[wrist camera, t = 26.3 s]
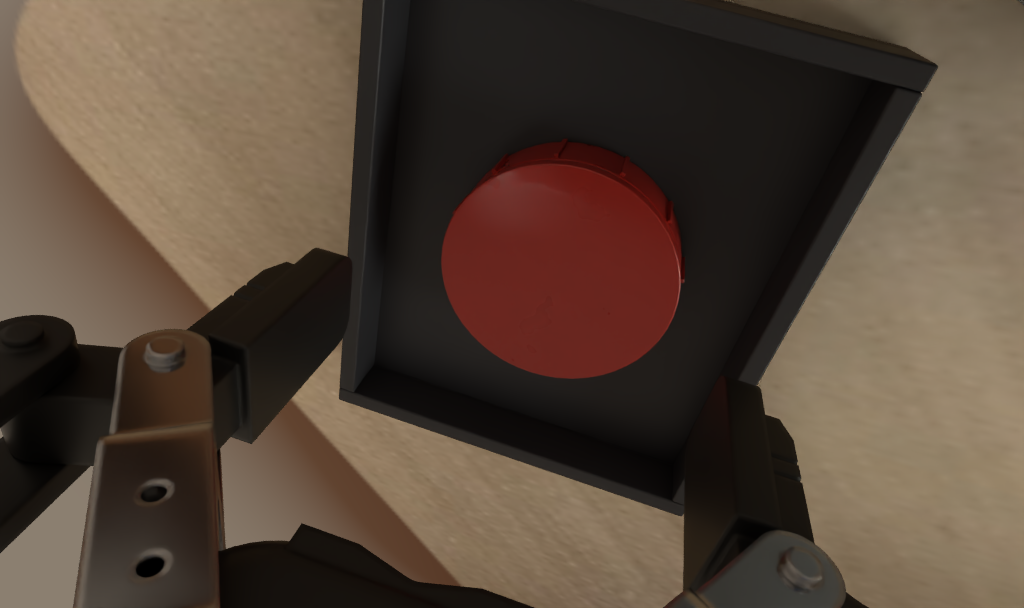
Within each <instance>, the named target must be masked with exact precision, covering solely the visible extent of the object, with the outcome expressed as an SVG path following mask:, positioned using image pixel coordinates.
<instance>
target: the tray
mask: <svg viewBox="0 0 1024 608" xmlns="http://www.w3.org/2000/svg"><path fill="white" fill-rule="evenodd" d="M937 68H938V65H936V64H935V63H933V62H931V61H930V60H928V59H926V58H924V57H922V56H920V55H919V54H917V53H915V52H913V51H911V50H910V49H908V48H906V47H902V46H898V45H894V44H891V43H887V42H883V41H879V40H875V39H871V38H867V37H863V36H859V35H855V34H852V33H848V32H844V31H840V30H836V29H832V28H828V27H824V26H820V25H816V24H812V23H809V22H805V21H801V20H797V19H793V18H789V17H785V16H781V15H777V14H773V13H770V12H766V11H762V10H758V9H754V8H750V7H746V6H742V5H738V4H734V3H731V2H727V1H723V0H363V8H362V25H361V41H360V58H359V75H358V91H357V108H356V125H355V141H354V158H353V174H352V191H351V208H350V224H349V241H348V257H349V258H350V259H351V260H352V265H353V271H352V286H351V301H350V316H349V322H348V326H347V329H346V331H345V334H344V336H343V341H342V358H341V374H340V391H339V399H340V400H343V401H346V402H348V403H351V404H354V405H357V406H360V407H363V408H366V409H369V410H372V411H375V412H378V413H381V414H383V415H386V416H389V417H392V418H395V419H398V420H401V421H404V422H407V423H410V424H413V425H416V426H418V427H421V428H424V429H427V430H430V431H433V432H436V433H439V434H442V435H445V436H448V437H451V438H453V439H456V440H459V441H462V442H465V443H468V444H471V445H474V446H477V447H480V448H483V449H486V450H488V451H491V452H494V453H497V454H500V455H503V456H506V457H509V458H512V459H515V460H518V461H521V462H524V463H526V464H529V465H532V466H535V467H538V468H541V469H544V470H547V471H550V472H553V473H556V474H559V475H561V476H564V477H567V478H570V479H573V480H576V481H579V482H582V483H585V484H588V485H591V486H594V487H596V488H599V489H602V490H605V491H608V492H611V493H614V494H617V495H620V496H623V497H626V498H629V499H631V500H634V501H637V502H640V503H643V504H646V505H649V506H652V507H655V508H658V509H661V510H664V511H667V512H669V513H672V514H675V515H678V516H683V514H684V484H685V452H686V447H687V443H688V439H689V436H690V433H691V431H692V429H693V427H694V425H695V423H696V421H697V419H698V417H699V415H700V413H701V411H702V409H703V407H704V405H705V403H706V401H707V399H708V397H709V395H710V393H711V391H712V389H713V387H714V385H715V383H716V381H717V380H718V379H719V377H721V376H722V375H723V376H726V377H730V378H733V379H736V380H739V381H742V382H746V383H749V384H752V385H755V386H757V384H758V382H759V381H760V379H761V377H762V375H763V374H764V372H765V370H766V368H767V367H768V365H769V363H770V361H771V360H772V358H773V356H774V354H775V353H776V351H777V349H778V347H779V346H780V344H781V342H782V340H783V339H784V337H785V335H786V333H787V332H788V330H789V328H790V326H791V325H792V323H793V321H794V319H795V318H796V316H797V314H798V312H799V311H800V309H801V307H802V305H803V304H804V302H805V300H806V298H807V297H808V295H809V293H810V291H811V289H812V288H813V286H814V284H815V282H816V281H817V279H818V277H819V275H820V274H821V272H822V270H823V268H824V267H825V265H826V263H827V261H828V260H829V258H830V256H831V254H832V253H833V251H834V249H835V247H836V246H837V244H838V242H839V240H840V239H841V237H842V235H843V233H844V232H845V230H846V228H847V226H848V225H849V223H850V221H851V219H852V218H853V216H854V214H855V212H856V211H857V209H858V207H859V205H860V204H861V202H862V200H863V198H864V197H865V195H866V193H867V191H868V190H869V188H870V186H871V184H872V182H873V181H874V179H875V177H876V175H877V174H878V172H879V170H880V168H881V167H882V165H883V163H884V161H885V160H886V158H887V156H888V154H889V153H890V151H891V149H892V147H893V146H894V144H895V142H896V140H897V139H898V137H899V135H900V133H901V132H902V130H903V128H904V126H905V125H906V123H907V121H908V119H909V118H910V116H911V114H912V112H913V111H914V109H915V107H916V105H917V104H918V102H919V100H920V98H921V97H922V93H921V92H924V91H925V89H926V88H927V86H928V84H929V82H930V81H931V79H932V77H933V75H934V74H935V72H936V70H937ZM563 139H568V142H575V143H584V144H589V145H593V146H598V147H600V148H603V149H606V150H609V151H612V152H614V153H616V154H618V155H620V156H622V157H624V158H625V157H626V156H628V157H630V160H629V161H630V162H632V163H633V164H635V165H636V166H638V167H639V168H641V169H642V170H643V171H644V172H645V173H646V174H647V175H648V176H649V177H651V178H652V179H653V181H654V182H655V183H656V184H657V185H658V187H659V188H660V189H661V190H662V192H663V193H664V195H665V196H666V198H667V199H668V201H672V202H673V203H674V207H673V211H674V213H675V216H676V219H677V222H678V225H679V229H680V235H681V242H682V257H685V278H684V283H681V288H680V295H679V301H678V305H677V308H676V311H675V314H674V317H673V319H672V321H671V323H670V325H669V327H668V329H667V330H666V332H665V333H664V334H663V336H662V337H661V339H660V340H659V341H658V342H657V343H656V344H655V345H654V346H653V347H652V348H651V349H650V350H649V351H648V352H647V353H646V354H644V355H643V356H642V357H640V358H639V359H638V360H636V361H634V362H633V363H631V364H629V365H627V366H626V367H623V368H621V369H619V370H616V371H614V372H611V373H607V374H604V375H600V376H594V377H588V378H575V379H569V378H555V377H549V376H543V375H539V374H536V373H532V372H529V371H526V370H524V369H521V368H518V367H516V366H514V365H512V364H510V363H508V362H506V361H504V360H502V359H501V358H499V357H498V356H496V355H495V354H493V353H492V352H490V351H489V350H488V349H486V348H485V347H484V346H483V345H481V344H480V343H479V342H478V341H477V340H476V339H475V338H474V337H473V336H472V335H471V334H470V332H469V331H468V330H467V329H466V327H465V326H464V325H463V324H462V322H461V321H460V319H459V318H458V316H457V314H456V313H455V311H454V309H453V307H452V305H451V303H450V301H449V298H448V295H447V292H446V289H445V286H444V281H443V276H442V265H441V256H442V245H443V241H444V237H445V233H446V230H447V228H448V225H449V222H450V220H451V218H452V217H453V215H454V214H452V213H453V211H454V210H455V209H456V207H457V206H458V205H459V204H460V203H461V202H462V200H463V199H464V198H465V197H466V196H467V195H468V194H469V193H470V192H471V191H472V190H473V189H474V187H475V186H476V185H477V184H478V183H479V182H480V180H481V179H482V178H483V177H484V176H485V175H486V174H487V173H488V172H489V171H490V170H491V169H492V168H493V167H494V166H495V165H496V164H497V163H498V162H499V161H500V160H501V158H502V157H503V156H504V155H505V154H507V153H508V155H509V156H510V155H512V154H514V153H516V152H518V151H520V150H523V149H526V148H529V147H532V146H535V145H540V144H545V143H551V142H562V140H563Z"/></svg>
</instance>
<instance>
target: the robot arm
mask: <svg viewBox="0 0 1024 608" xmlns="http://www.w3.org/2000/svg"><path fill="white" fill-rule="evenodd" d="M352 271H353V265H352V260H351V259H350V258H349V257H346V256H343V255H340V254H336V253H333V252H330V251H327V250H324V249H320V248H314V249H312V250H311V251H310V252H309V253H307V254H306V255H305V256H304V257H303V258H301V259H300V260H299V261H298V262H296V263H295V264H292V263H289V262H285V263H282V264H279V265H276V266H273V267H271V268H268V269H265V270H263V271H262V272H260V273H259V274H258V275H256V276H255V277H254V278H253V279H251V280H250V281H249V282H248V283H247V285H244V286H242V287H241V288H240V289H238V290H237V291H236V292H235V293H234V296H232V295H231V296H229V297H228V298H227V299H226V300H224V301H223V302H222V303H220V304H219V305H218V306H217V307H215V308H214V309H213V310H211V311H210V312H209V313H208V314H206V315H205V316H204V317H203V318H201V319H200V320H199V321H197V322H196V323H195V324H193V326H191V327H190V328H188V329H187V330H182V329H165V330H158V331H153V332H149V333H147V334H144V335H141V336H139V337H137V338H136V339H134V340H132V341H131V342H129V343H128V344H127V345H126V346H125V347H124V348H118V347H106V346H95V345H83V344H77V340H76V336H75V331H74V329H73V327H72V325H71V324H69V323H68V322H67V321H65V320H63V319H60V318H57V317H53V316H45V315H30V316H21V317H15V318H11V319H7V320H4V321H1V322H0V428H1V431H2V434H3V437H2V438H1V439H0V553H1V552H2V551H3V550H4V549H5V548H6V547H7V546H8V545H9V544H10V543H11V542H12V541H13V540H14V539H15V538H17V536H19V535H20V533H22V532H23V531H24V530H25V529H26V528H27V527H28V526H29V525H30V524H31V523H32V522H33V521H34V520H35V519H36V518H37V517H38V516H39V515H40V514H41V513H42V512H43V511H44V510H45V509H46V508H47V507H48V506H50V504H52V503H53V502H54V501H55V499H57V498H58V497H59V496H60V495H61V494H62V493H63V492H64V491H65V490H66V489H67V488H68V487H69V486H70V485H71V484H72V483H73V482H74V481H75V480H76V479H78V477H80V476H81V474H83V473H84V472H85V471H86V470H87V469H88V468H89V467H90V466H94V467H93V475H92V481H91V488H90V495H89V502H88V508H87V515H86V522H85V529H84V536H83V542H82V550H81V556H80V563H79V570H78V577H77V584H76V590H75V597H74V604H73V608H534V607H531V606H528V605H526V604H523V603H520V602H517V601H515V600H512V599H509V598H506V597H504V596H501V595H498V594H495V593H493V592H490V591H487V590H484V589H480V588H470V587H460V586H451V585H441V584H431V583H422V582H416V581H413V580H411V579H409V578H408V577H406V576H404V575H403V574H402V573H400V572H399V571H397V570H396V569H395V568H393V567H392V566H390V565H389V564H387V563H386V562H384V561H383V560H381V559H380V558H379V557H377V556H376V555H374V554H373V553H371V552H370V551H368V550H367V549H366V548H364V547H363V546H361V545H360V544H357V543H355V542H352V541H349V540H346V539H344V538H341V537H338V536H335V535H333V534H330V533H327V532H324V531H322V530H319V529H316V528H313V527H310V526H307V525H305V524H301V525H300V527H299V528H298V530H297V531H296V533H295V534H294V536H293V537H292V539H291V540H290V541H262V542H253V543H247V544H243V545H239V546H234V547H231V548H228V549H226V547H225V531H224V511H223V510H224V509H223V490H222V469H221V453H220V448H221V447H222V445H224V443H225V442H226V441H227V440H228V439H229V438H230V437H233V438H236V439H239V440H241V441H244V442H247V443H250V444H252V443H253V442H254V441H255V440H256V439H257V437H258V436H259V435H260V434H261V433H262V432H263V430H264V429H265V428H266V427H267V426H268V425H269V423H270V422H271V421H272V420H273V419H274V418H275V417H276V415H277V414H278V413H279V412H280V411H281V410H282V408H283V407H284V406H285V405H286V404H287V403H288V402H289V400H290V399H291V398H292V397H293V396H294V395H295V394H296V392H297V391H298V390H299V389H300V388H301V387H302V386H303V384H304V383H305V382H306V381H307V380H308V379H309V377H310V376H311V375H312V374H313V373H314V372H315V371H316V369H317V368H318V367H319V366H320V365H321V364H322V362H323V361H324V360H325V359H326V358H327V357H328V356H329V354H330V353H331V352H332V351H333V350H334V349H335V347H336V346H337V345H338V344H339V343H340V341H341V340H342V338H343V336H344V334H345V331H346V329H347V326H348V322H349V316H350V301H351V286H352ZM797 462H798V460H797V455H796V450H795V445H794V441H793V439H792V438H791V436H790V435H789V433H788V432H787V430H786V429H785V427H784V426H783V424H782V423H781V421H780V420H779V419H777V418H774V417H771V416H768V415H765V412H764V406H763V399H762V393H761V389H760V387H758V386H755V385H752V384H749V383H746V382H742V381H739V380H736V379H733V378H730V377H726V376H723V375H722V376H721V377H719V379H718V380H717V381H716V383H715V385H714V387H713V389H712V391H711V393H710V395H709V397H708V399H707V401H706V403H705V405H704V407H703V409H702V411H701V413H700V415H699V417H698V419H697V421H696V423H695V425H694V427H693V429H692V431H691V433H690V436H689V439H688V443H687V447H686V452H685V484H684V571H683V592H682V593H680V594H679V595H678V596H677V597H675V598H674V599H673V600H672V601H671V602H669V603H668V604H667V605H666V606H665V607H663V608H868V607H867V606H865V605H863V604H862V603H860V602H859V601H857V600H856V599H854V598H853V597H852V596H851V595H849V594H848V593H847V592H846V587H845V582H844V580H843V577H842V575H841V573H840V571H839V569H838V568H837V566H836V565H835V563H834V562H833V561H832V560H831V558H830V557H829V556H828V555H827V554H826V553H825V552H824V551H823V550H822V549H821V548H819V547H818V546H817V545H815V543H814V538H813V533H812V529H811V524H810V519H809V514H808V509H807V504H806V499H805V494H804V489H803V485H802V483H801V482H800V481H801V475H800V470H799V466H798V465H797Z"/></svg>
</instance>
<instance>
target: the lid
mask: <svg viewBox="0 0 1024 608" xmlns="http://www.w3.org/2000/svg"><path fill="white" fill-rule="evenodd" d="M629 160H630V157H628V156H626V157H625V158H624V157H622V156H620V155H618V154H616V153H614V152H612V151H609V150H606V149H603V148H600V147H598V146H593V145H589V144H584V143H575V142H568V139H563V140H562V142H551V143H545V144H540V145H535V146H532V147H529V148H526V149H523V150H520V151H518V152H516V153H514V154H512V155H510V156H509V155H508V153H507V154H505V155H504V156H503V157H502V158H501V160H500V161H499V162H498V163H497V164H496V165H495V166H494V167H493V168H492V169H491V170H490V171H489V172H488V173H487V174H486V175H485V176H484V177H483V178H482V179H481V180H480V182H479V183H478V184H477V185H476V186H475V187H474V189H473V190H472V191H471V192H470V193H469V194H468V195H467V196H466V197H465V198H464V199H463V200H462V202H461V203H460V204H459V205H458V206H457V207H456V209H455V210H454V211H453V213H452V214H454V215H453V217H452V218H451V220H450V222H449V225H448V228H447V230H446V233H445V237H444V241H443V245H442V256H441V265H442V276H443V281H444V286H445V289H446V292H447V295H448V298H449V301H450V303H451V305H452V307H453V309H454V311H455V313H456V314H457V316H458V318H459V319H460V321H461V322H462V324H463V325H464V326H465V327H466V329H467V330H468V331H469V332H470V334H471V335H472V336H473V337H474V338H475V339H476V340H477V341H478V342H479V343H480V344H481V345H483V346H484V347H485V348H486V349H488V350H489V351H490V352H492V353H493V354H495V355H496V356H498V357H499V358H501V359H502V360H504V361H506V362H508V363H510V364H512V365H514V366H516V367H518V368H521V369H524V370H526V371H529V372H532V373H536V374H539V375H543V376H549V377H555V378H569V379H575V378H588V377H594V376H600V375H604V374H607V373H611V372H614V371H616V370H619V369H621V368H623V367H626V366H627V365H629V364H631V363H633V362H634V361H636V360H638V359H639V358H640V357H642V356H643V355H644V354H646V353H647V352H648V351H649V350H650V349H651V348H652V347H653V346H654V345H655V344H656V343H657V342H658V341H659V340H660V339H661V337H662V336H663V334H664V333H665V332H666V330H667V329H668V327H669V325H670V323H671V321H672V319H673V317H674V314H675V311H676V308H677V305H678V301H679V295H680V288H681V283H684V278H685V257H682V242H681V235H680V229H679V225H678V222H677V219H676V216H675V213H674V211H673V207H674V203H673V202H672V201H668V199H667V198H666V196H665V195H664V193H663V192H662V190H661V189H660V188H659V187H658V185H657V184H656V183H655V182H654V181H653V179H652V178H651V177H649V176H648V175H647V174H646V173H645V172H644V171H643V170H642V169H641V168H639V167H638V166H636V165H635V164H633V163H632V162H630V161H629Z"/></svg>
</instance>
